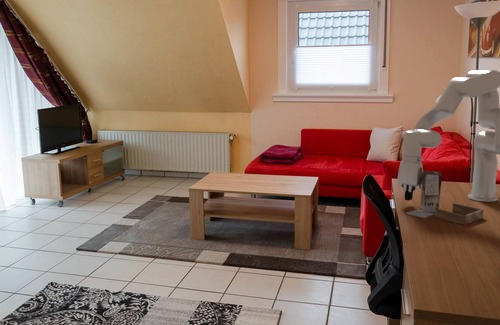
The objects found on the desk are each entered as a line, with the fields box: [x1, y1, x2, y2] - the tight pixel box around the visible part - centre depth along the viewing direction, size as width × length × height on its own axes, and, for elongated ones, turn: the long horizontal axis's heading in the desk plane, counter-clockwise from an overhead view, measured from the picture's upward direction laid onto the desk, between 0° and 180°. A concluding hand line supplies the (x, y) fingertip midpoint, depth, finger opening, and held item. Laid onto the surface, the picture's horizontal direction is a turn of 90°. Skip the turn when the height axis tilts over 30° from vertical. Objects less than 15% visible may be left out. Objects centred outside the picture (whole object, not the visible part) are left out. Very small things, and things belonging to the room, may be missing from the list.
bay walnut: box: [434, 202, 484, 226], centre depth 197 cm, size 14×13×4 cm
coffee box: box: [419, 170, 443, 214], centre depth 206 cm, size 9×6×16 cm
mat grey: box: [406, 209, 435, 219], centre depth 202 cm, size 8×8×1 cm
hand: (408, 199), depth 215 cm, fingers closed
